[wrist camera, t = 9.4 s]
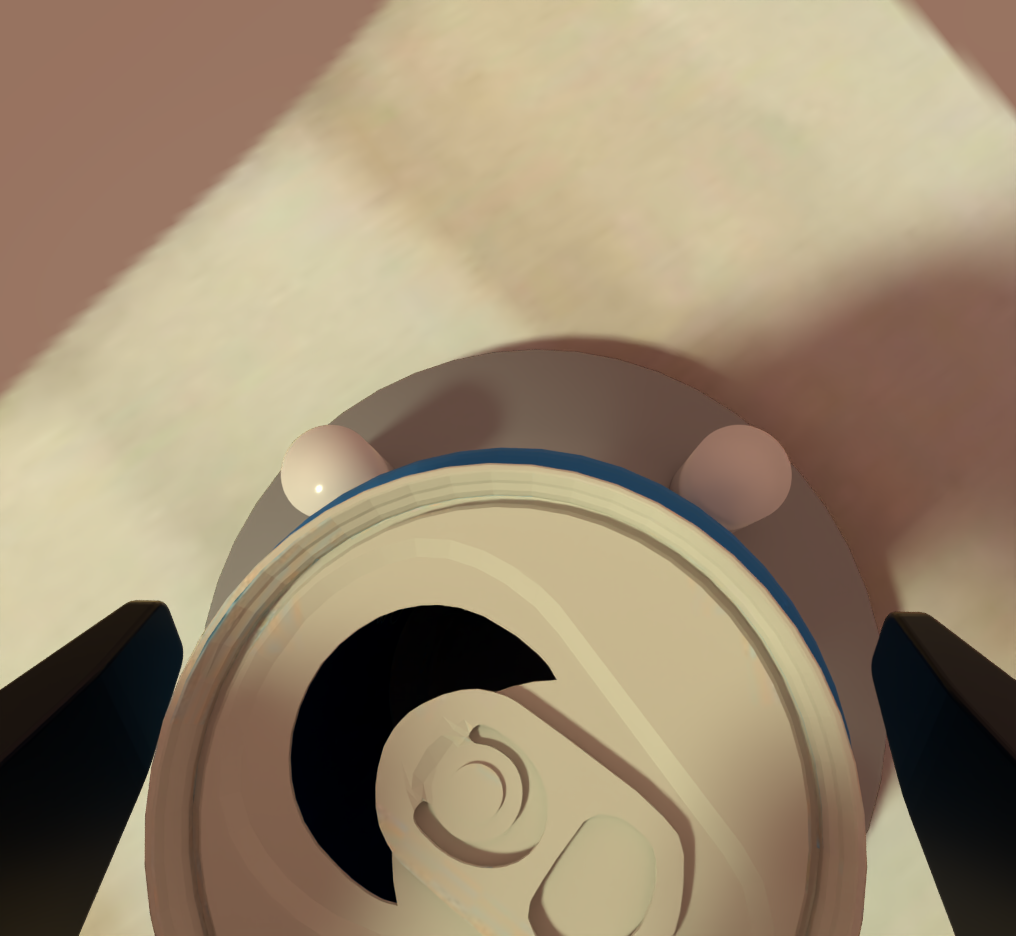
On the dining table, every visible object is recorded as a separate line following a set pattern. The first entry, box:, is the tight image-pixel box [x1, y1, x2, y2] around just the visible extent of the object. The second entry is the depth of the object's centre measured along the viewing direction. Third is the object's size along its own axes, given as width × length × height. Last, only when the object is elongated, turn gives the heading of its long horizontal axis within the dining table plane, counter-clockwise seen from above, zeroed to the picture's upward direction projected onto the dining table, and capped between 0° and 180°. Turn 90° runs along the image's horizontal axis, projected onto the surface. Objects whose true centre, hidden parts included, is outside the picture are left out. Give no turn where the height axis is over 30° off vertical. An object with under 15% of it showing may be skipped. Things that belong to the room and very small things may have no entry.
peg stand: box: [205, 349, 886, 833], centre depth 17 cm, size 16×16×4 cm
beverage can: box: [145, 447, 867, 936], centre depth 12 cm, size 6×6×12 cm
